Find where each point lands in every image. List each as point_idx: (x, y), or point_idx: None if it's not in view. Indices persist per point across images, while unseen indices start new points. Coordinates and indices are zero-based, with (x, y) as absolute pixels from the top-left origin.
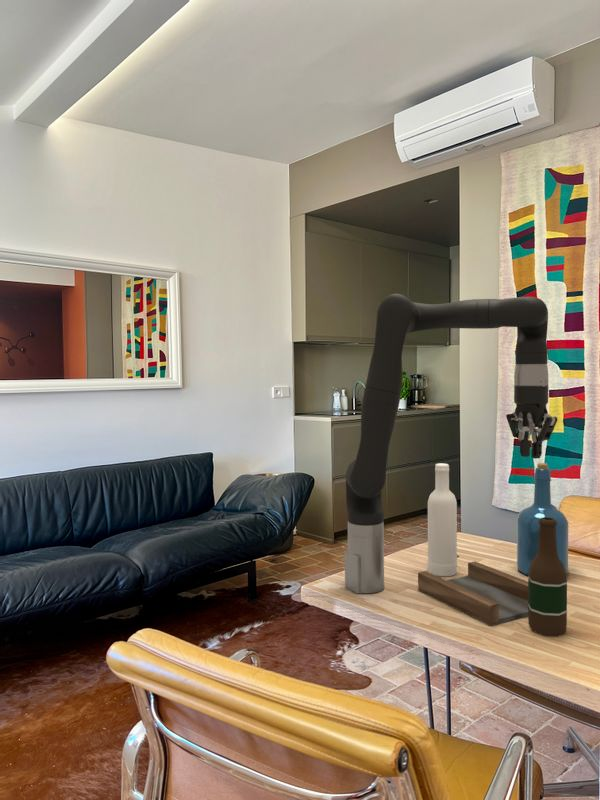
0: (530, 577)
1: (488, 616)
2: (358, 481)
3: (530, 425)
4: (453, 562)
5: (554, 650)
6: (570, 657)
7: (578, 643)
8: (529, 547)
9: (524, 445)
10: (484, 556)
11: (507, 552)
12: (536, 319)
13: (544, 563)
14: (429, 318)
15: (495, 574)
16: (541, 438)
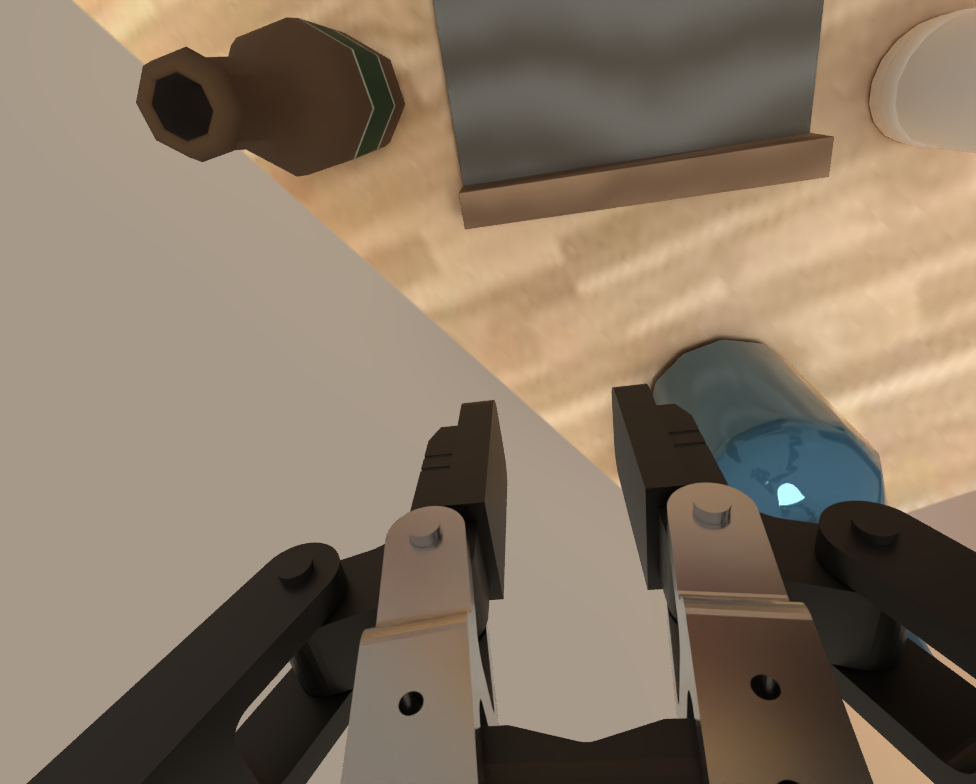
0: (311, 26)
1: None
2: None
3: (423, 736)
4: (898, 103)
5: (223, 9)
6: (178, 23)
7: None
8: (735, 381)
9: (636, 474)
10: (940, 341)
11: (914, 430)
12: None
13: (233, 50)
14: None
15: (677, 159)
16: (280, 570)
